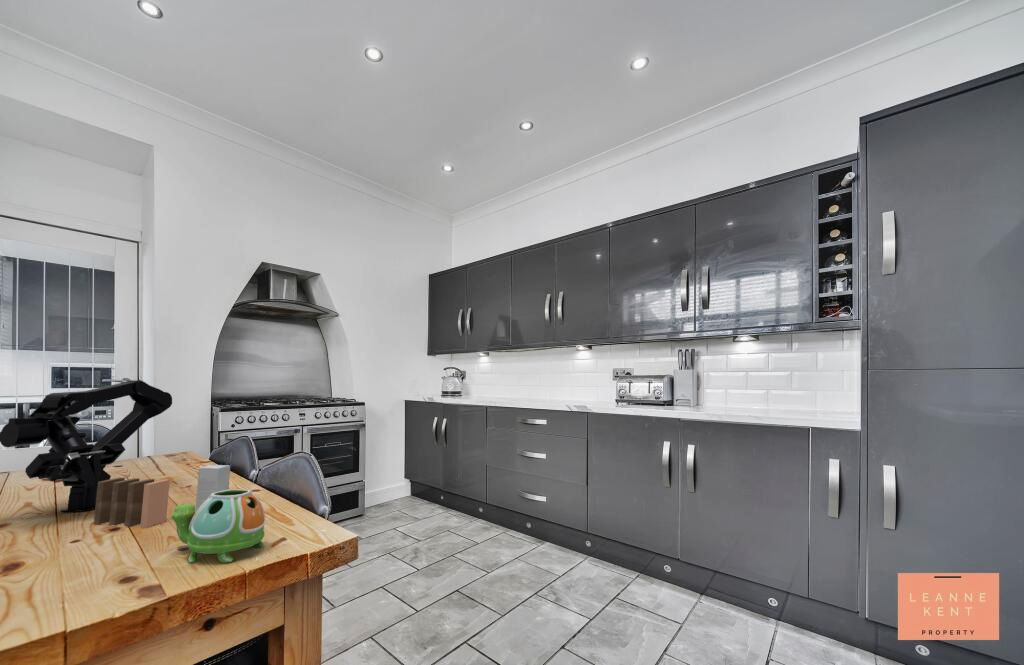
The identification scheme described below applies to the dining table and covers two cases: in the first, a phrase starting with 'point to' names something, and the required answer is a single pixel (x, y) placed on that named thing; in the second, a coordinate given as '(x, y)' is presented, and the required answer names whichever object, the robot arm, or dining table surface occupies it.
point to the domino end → (154, 503)
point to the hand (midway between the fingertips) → (95, 484)
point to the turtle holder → (221, 524)
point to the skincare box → (211, 481)
